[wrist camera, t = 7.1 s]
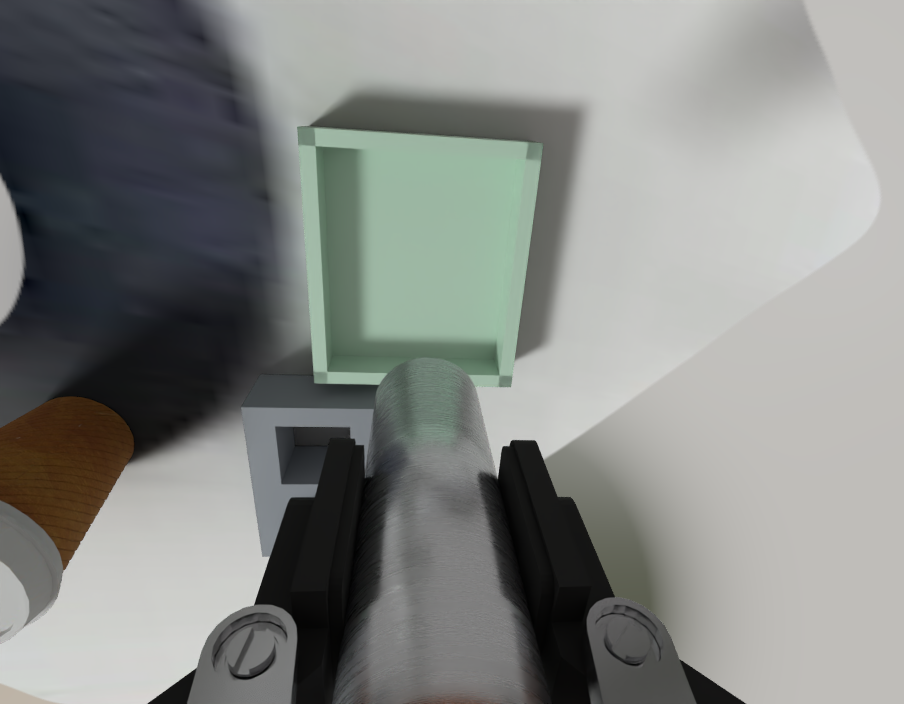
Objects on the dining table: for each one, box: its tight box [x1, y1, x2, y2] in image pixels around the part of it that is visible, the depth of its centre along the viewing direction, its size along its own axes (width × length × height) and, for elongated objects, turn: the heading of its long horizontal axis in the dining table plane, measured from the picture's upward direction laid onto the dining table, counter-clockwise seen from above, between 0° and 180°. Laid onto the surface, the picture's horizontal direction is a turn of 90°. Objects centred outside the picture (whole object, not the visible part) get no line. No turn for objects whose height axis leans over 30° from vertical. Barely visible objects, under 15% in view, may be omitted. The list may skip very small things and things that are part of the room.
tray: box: [297, 126, 543, 387], centre depth 28 cm, size 14×12×3 cm
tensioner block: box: [241, 375, 379, 557], centre depth 32 cm, size 12×8×6 cm, turn 176°
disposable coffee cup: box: [0, 396, 134, 644], centre depth 27 cm, size 10×10×12 cm
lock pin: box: [332, 357, 552, 704], centre depth 10 cm, size 4×4×11 cm
